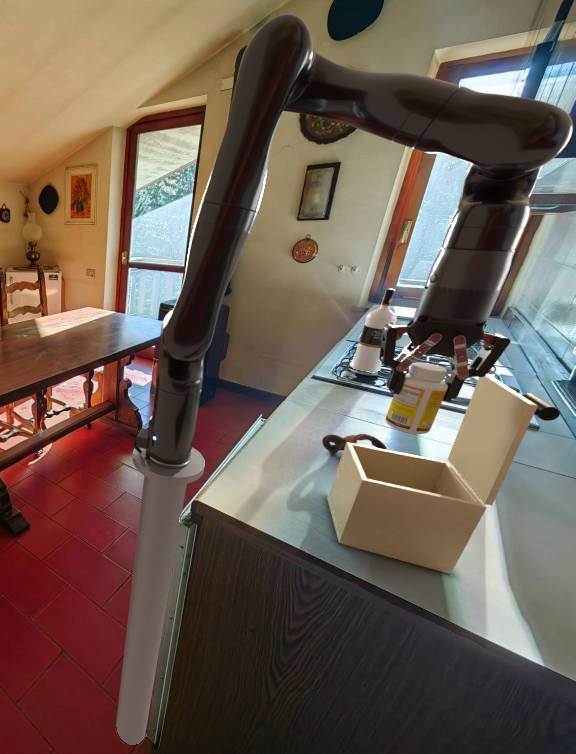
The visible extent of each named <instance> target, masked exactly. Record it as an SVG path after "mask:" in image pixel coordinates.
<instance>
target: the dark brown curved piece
mask: <svg viewBox="0 0 576 754" xmlns="http://www.w3.org/2000/svg"><path fill="white" fill-rule="evenodd" d="M358 441H369V442H371V446H372V447H375V448H380V449H385V450H388V448H387V446H386V445H385V443H383V442H382V441H381V440H380V439H378V438H377V437H375V436H372V435H370V434H366V433H359V434H350V435H346V436H344V437H342V436H339V435H338V434H334V433H333V434H332V433H331V434H326V435H325V436H324V437H322V441H321V442H322V446H323V448H324V449H325V450H326V451H327V452H329V455H330V456H331V457H332V458H335V457H336V454H337V453H338V452H341V451H342V452H343V451H344V448H345V445H346V442H349V443H354V444H358ZM331 443H332V444H331Z"/></svg>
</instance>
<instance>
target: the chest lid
mask: <svg viewBox="0 0 576 754" xmlns="http://www.w3.org/2000/svg"><path fill="white" fill-rule="evenodd" d="M506 385H507V384H504V383H503V382H501V381H500V380H499V379H497V378H495V377H494V376H492V375H490V374H489V373H488V374H487V375H486V376H484V377H478V380H477V383H476V385H475V387H474V390H473V393H472V396H471V398H470V400H469V403H468V406H467V407H466V411H465V413H464V416H463V418H462V421H461V424H460V426H459V429H458V430H457V433H456V437H455V439H454V442H453V444H452V447H451V449H450V452H449V454H448V457H447V460H448V462H450V463H451V465H452V466H453V467H454V469H455V470H456V471H457V472H458V473H459V475H460V476H461V477H462V478H463V479H464V481H465V482H466V483H467V484H468V486H469V487H470V488H471V489H472V490H473V492H474V493H475V494H476V495H477V497H478V498H479V499H480V500H481V501H482V503H483V504H484V505H487V506H493V505H494V502H495V500H496V498H497V496H498V493H499V491H500V489H501V487H502V484H503V482H504V480H505V479H506V477H507V474H508V472H509V469H510V467H511V465H512V463H513V461H514V458H515V456H516V454H517V452H518V450H519V448H520V445H521V443H522V441H523V439H524V438H525V434H526V433H527V431H528V428H529V426H530V424H531V422H532V419H533V418H534V416H536V418H539V419H540V420H542V421H546V422H551V421H554V420H557V419H558V418H559V417H560V415H561V411H560V409H558V408H557V407H555V406H554V405H552V404H550V403H549V402H547V401H545V400H544V399H543V398H540V397H539V396H537V395H535V394H534V393H525V394H524V393H523V394H521V393H517V392H516V391H514V390H512V389H511V388H509V387H508V386H509V385H508V386H506Z"/></svg>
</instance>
